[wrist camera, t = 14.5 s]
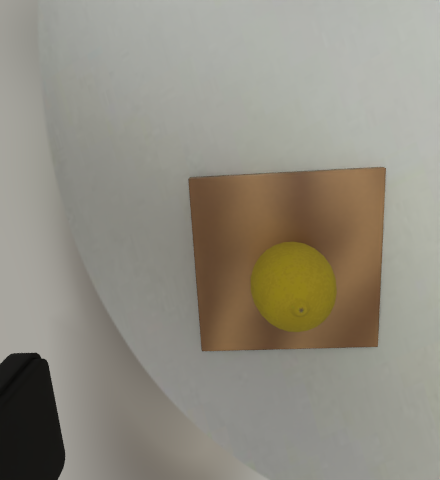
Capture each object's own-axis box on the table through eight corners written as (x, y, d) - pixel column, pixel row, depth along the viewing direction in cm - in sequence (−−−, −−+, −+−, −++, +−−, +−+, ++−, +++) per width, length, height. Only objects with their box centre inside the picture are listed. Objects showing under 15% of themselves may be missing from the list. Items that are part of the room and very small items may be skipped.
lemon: (308, 308, 31) (329, 365, 24) (239, 287, 31) (239, 338, 24) (334, 242, 30) (366, 281, 22) (262, 220, 30) (270, 251, 22)
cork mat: (202, 346, 34) (201, 351, 33) (189, 177, 30) (188, 178, 29) (374, 341, 33) (378, 347, 32) (382, 166, 29) (386, 167, 28)
